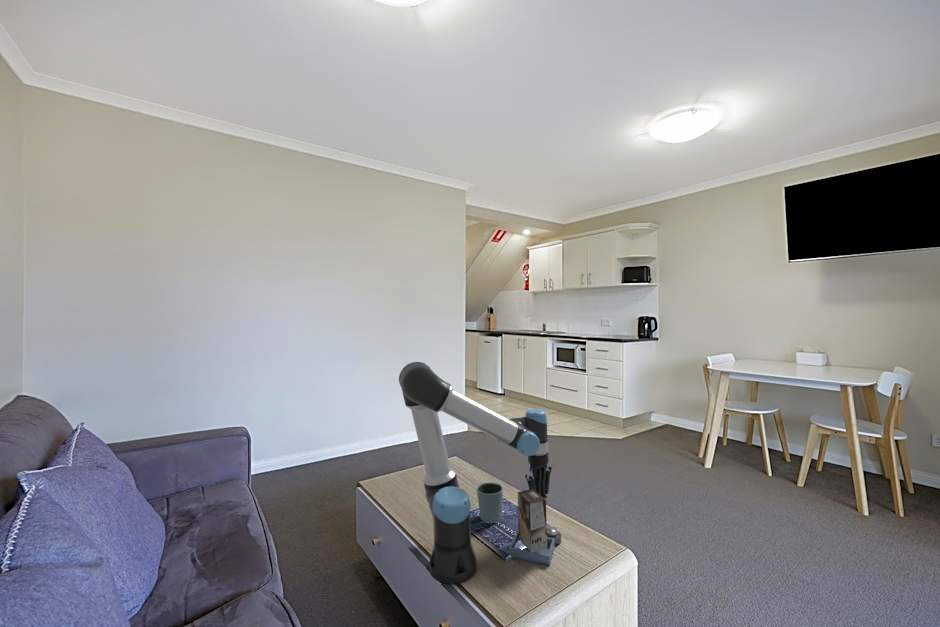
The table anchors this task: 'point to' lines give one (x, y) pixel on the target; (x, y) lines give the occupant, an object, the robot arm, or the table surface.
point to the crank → (552, 531)
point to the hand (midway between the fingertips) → (540, 515)
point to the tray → (535, 557)
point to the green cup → (490, 502)
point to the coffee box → (532, 520)
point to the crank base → (556, 538)
